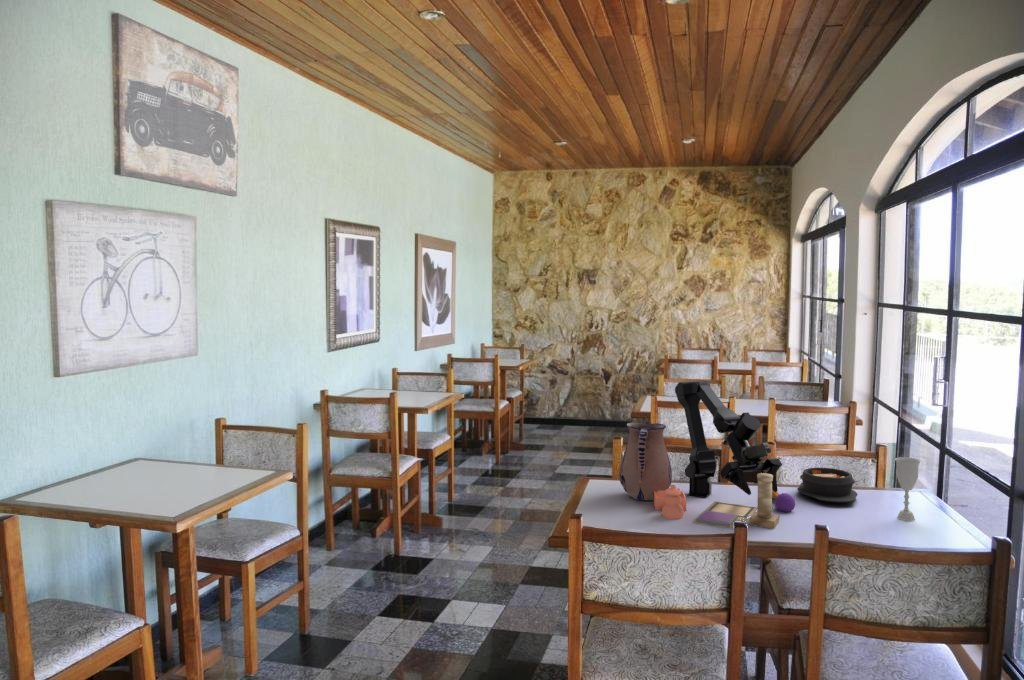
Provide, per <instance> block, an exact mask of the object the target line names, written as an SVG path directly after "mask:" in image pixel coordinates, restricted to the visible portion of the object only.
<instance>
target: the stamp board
mask: <svg viewBox="0 0 1024 680" xmlns="http://www.w3.org/2000/svg"><path fill="white" fill-rule="evenodd" d="M705 510H708V511H715V512H722V513H729V514H736V515H738V519H737V520H736V521H741V522H745V521H746V522H745V524H746V523H747V522H748V521H747V520H750V518H748V519H747V517H749V516H752V515H753V513H754V512H757V506H752V505H745V504H737V503H730V502H723V501H713V502H712V503H711V504H710V505H709V506H708V507H707V508H706V509H705ZM705 510H704V511H705ZM704 511H702V512H701V513H700V514H699V515H701V514H702V513H703V512H704ZM741 515H743V516H741ZM743 518H744V519H743ZM740 519H741V520H740ZM743 520H744V521H743ZM692 523H695V524H696V523H697V524H702V525H709V526H716V527H721V528H722V527H723V528H727V529H728V528H729V529H734V528H733V524H732V525H731V526H730V527H726V526H719V525H713V524H706V523H700V522H696V518H695V519H694V520H692Z"/></svg>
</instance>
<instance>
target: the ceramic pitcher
mask: <svg viewBox="0 0 1024 680" xmlns="http://www.w3.org/2000/svg"><path fill="white" fill-rule="evenodd" d="M626 427H627V429H628V431H629V437H628V440H627V444H626V447H625V449H624V452H623V455H622V459H621V461H620V467H619V471H618V479H619V482H620V485H621V486H622V487H623V490H624V492H625V493H626V494H627V495H629V496H630V497H631V498H633V499H635V500H638V501H644V500H645V501H654V491H655V492H657V491H659V490H663V491H665V490H667V489H668V488H671V486H670V485H672V482H673V481H672V480H673V474H672V465H671V460H670V456H669V454H668V450H667V447H666V443H665V440H664V430H665V429H666V428H667V425H666V424H663V423H657V422H656V423H652V422H651V421H645V420H643V421H642V422H636V421H635V422H634V421H632V422H627V424H626Z"/></svg>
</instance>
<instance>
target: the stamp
mask: <svg viewBox="0 0 1024 680" xmlns="http://www.w3.org/2000/svg"><path fill="white" fill-rule="evenodd" d="M756 480H757V506H756V507H757V510H756V511H755V512H754V513H753V515H752V516H751V517H750V518H749V526H753V525H757V526H756V527H760V526H762V527H761V528H766V527H768V528H767V529H773V528H774V529H776V527H777V525H779V523H780V515H779V514H774V513H772V511H773V506H772V505H773V498H772V481H773V475H772V474H768V473H762V472H760V473H757V474H756Z"/></svg>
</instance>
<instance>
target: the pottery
mask: <svg viewBox="0 0 1024 680" xmlns="http://www.w3.org/2000/svg"><path fill="white" fill-rule="evenodd" d="M654 506H655V507H654ZM653 507H654V510H655V511H661V513H662V516H663V518H666V519H670V520H679V519H682V518H683V517H684V513H685V512H687V497H686V495H685V492H684V491H683V490H680V489H679V488H677V485H676V484H671V485H670V487H669V488H668V489H667V490H665V491H663V490H659V491H657V492H655V491H654V500H653Z"/></svg>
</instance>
